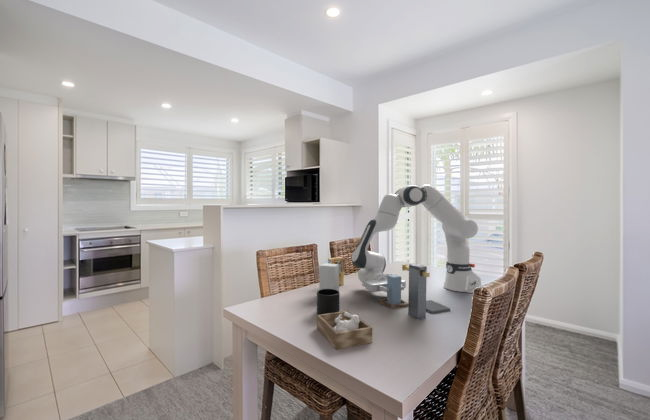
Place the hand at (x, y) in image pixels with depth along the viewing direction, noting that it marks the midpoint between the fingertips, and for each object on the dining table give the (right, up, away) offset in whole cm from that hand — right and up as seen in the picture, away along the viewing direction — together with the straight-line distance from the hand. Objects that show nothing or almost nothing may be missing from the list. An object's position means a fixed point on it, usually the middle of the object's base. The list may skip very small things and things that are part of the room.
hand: (395, 289), depth 138 cm
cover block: (0, -7, +1) cm, 7 cm away
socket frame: (0, -7, +1) cm, 7 cm away
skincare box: (-30, -7, +13) cm, 33 cm away
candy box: (-26, -6, +32) cm, 41 cm away
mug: (-30, -7, -10) cm, 33 cm away
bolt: (+5, +10, -13) cm, 17 cm away
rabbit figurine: (-24, -8, -33) cm, 42 cm away
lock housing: (+6, -7, -14) cm, 17 cm away
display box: (-26, -8, -32) cm, 42 cm away
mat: (+15, -7, -3) cm, 17 cm away
